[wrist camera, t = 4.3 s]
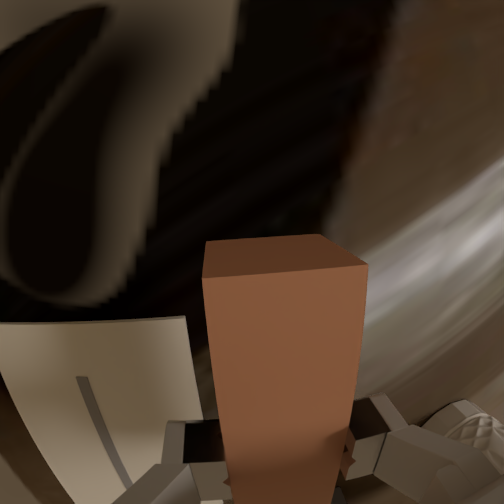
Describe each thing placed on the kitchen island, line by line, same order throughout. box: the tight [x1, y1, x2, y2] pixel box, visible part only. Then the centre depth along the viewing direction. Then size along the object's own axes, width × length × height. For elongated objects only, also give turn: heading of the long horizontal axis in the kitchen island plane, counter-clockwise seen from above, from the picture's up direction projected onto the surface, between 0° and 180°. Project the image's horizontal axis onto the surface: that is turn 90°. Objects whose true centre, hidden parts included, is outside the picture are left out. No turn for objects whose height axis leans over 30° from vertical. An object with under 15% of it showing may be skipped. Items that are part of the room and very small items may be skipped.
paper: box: [0, 316, 224, 504], centre depth 15 cm, size 18×12×1 cm, turn 4°
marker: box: [202, 234, 368, 504], centre depth 8 cm, size 10×3×3 cm, turn 3°
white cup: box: [421, 399, 504, 475], centre depth 14 cm, size 8×8×10 cm
